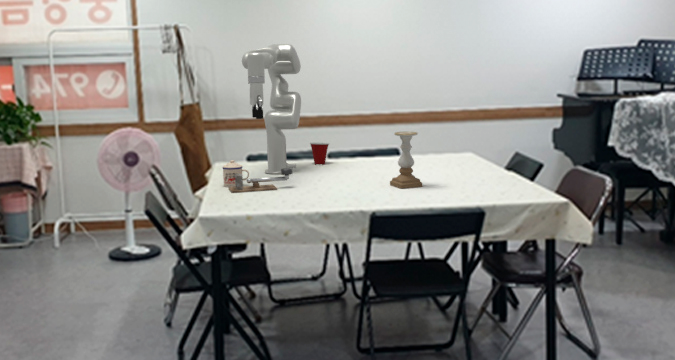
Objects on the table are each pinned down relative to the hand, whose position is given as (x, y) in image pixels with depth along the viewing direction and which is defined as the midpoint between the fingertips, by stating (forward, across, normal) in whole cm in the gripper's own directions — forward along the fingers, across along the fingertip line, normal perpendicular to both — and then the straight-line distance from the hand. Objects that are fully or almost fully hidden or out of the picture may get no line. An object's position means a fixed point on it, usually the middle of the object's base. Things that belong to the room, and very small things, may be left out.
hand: (257, 118), depth 311 cm
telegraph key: (+30, +15, -6) cm, 34 cm away
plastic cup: (+31, -48, +42) cm, 71 cm away
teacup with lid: (+31, +2, -11) cm, 33 cm away
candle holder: (+31, +32, +60) cm, 75 cm away
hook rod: (+27, +15, +2) cm, 31 cm away
